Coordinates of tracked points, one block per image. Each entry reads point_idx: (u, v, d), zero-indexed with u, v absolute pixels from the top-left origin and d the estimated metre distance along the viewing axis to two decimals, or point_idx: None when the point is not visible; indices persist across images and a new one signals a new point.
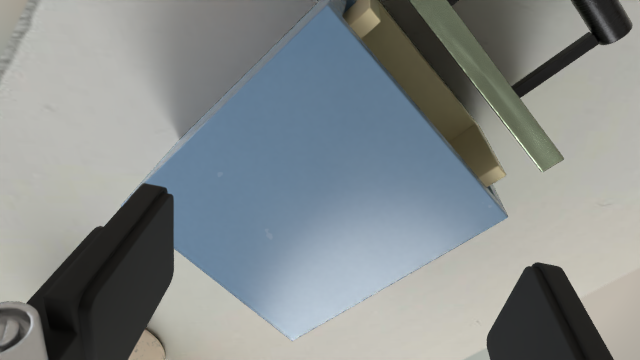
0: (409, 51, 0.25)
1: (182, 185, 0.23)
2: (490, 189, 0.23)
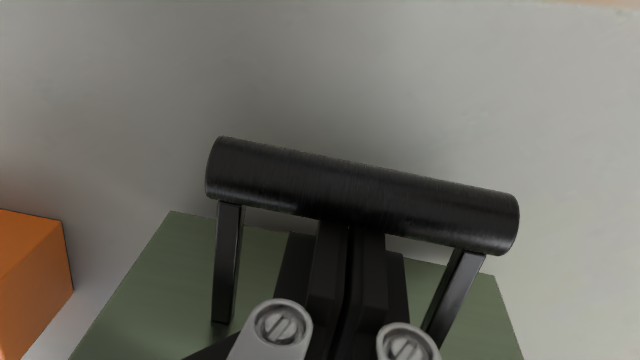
0: None
1: None
2: None
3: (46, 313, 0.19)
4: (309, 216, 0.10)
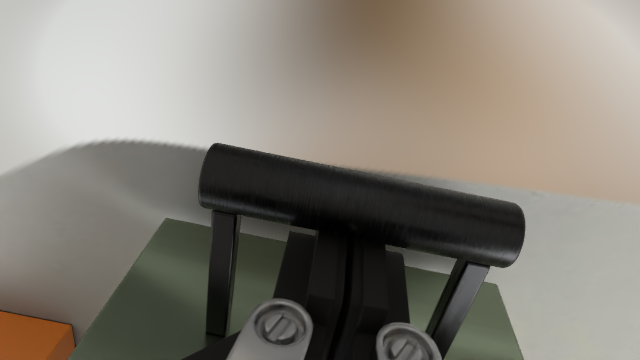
0: None
1: None
2: None
3: None
4: (307, 226, 0.10)
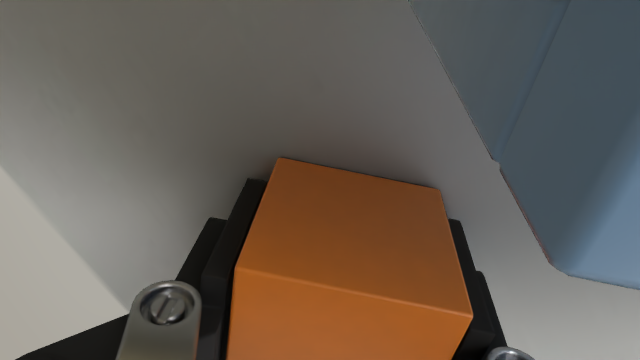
0: None
1: None
2: None
3: (421, 226, 0.10)
4: None
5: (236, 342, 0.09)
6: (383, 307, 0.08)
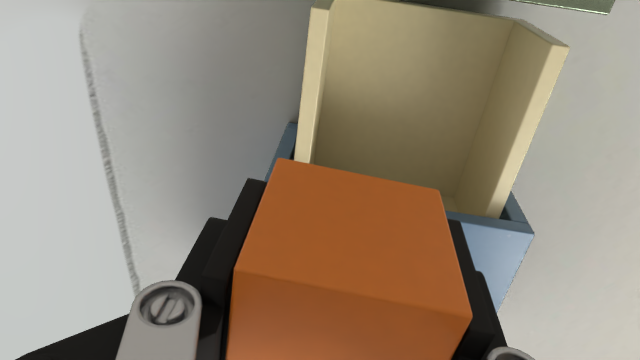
0: (396, 10, 0.23)
1: None
2: (507, 212, 0.23)
3: (420, 226, 0.10)
4: None
5: (235, 342, 0.09)
6: (382, 308, 0.08)
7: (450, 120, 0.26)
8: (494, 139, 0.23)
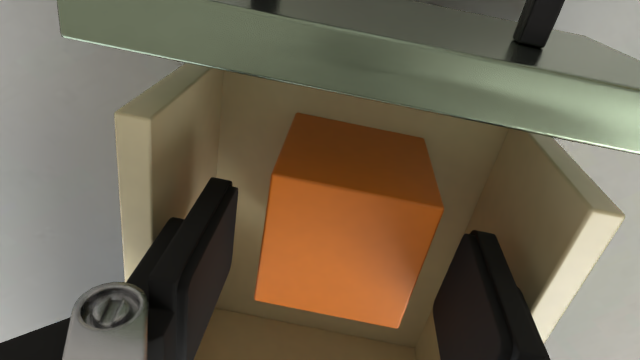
0: None
1: None
2: None
3: (408, 158, 0.13)
4: None
5: (269, 238, 0.12)
6: (379, 203, 0.11)
7: None
8: None
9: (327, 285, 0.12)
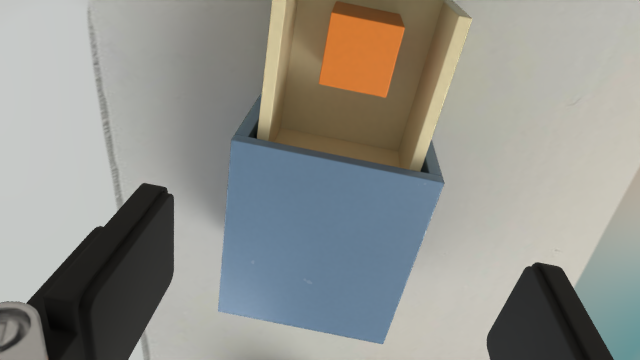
0: None
1: (239, 280, 0.33)
2: (427, 168, 0.29)
3: (391, 17, 0.27)
4: None
5: (328, 46, 0.26)
6: (376, 25, 0.25)
7: (394, 83, 0.31)
8: (424, 96, 0.28)
9: (353, 72, 0.27)
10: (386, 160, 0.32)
